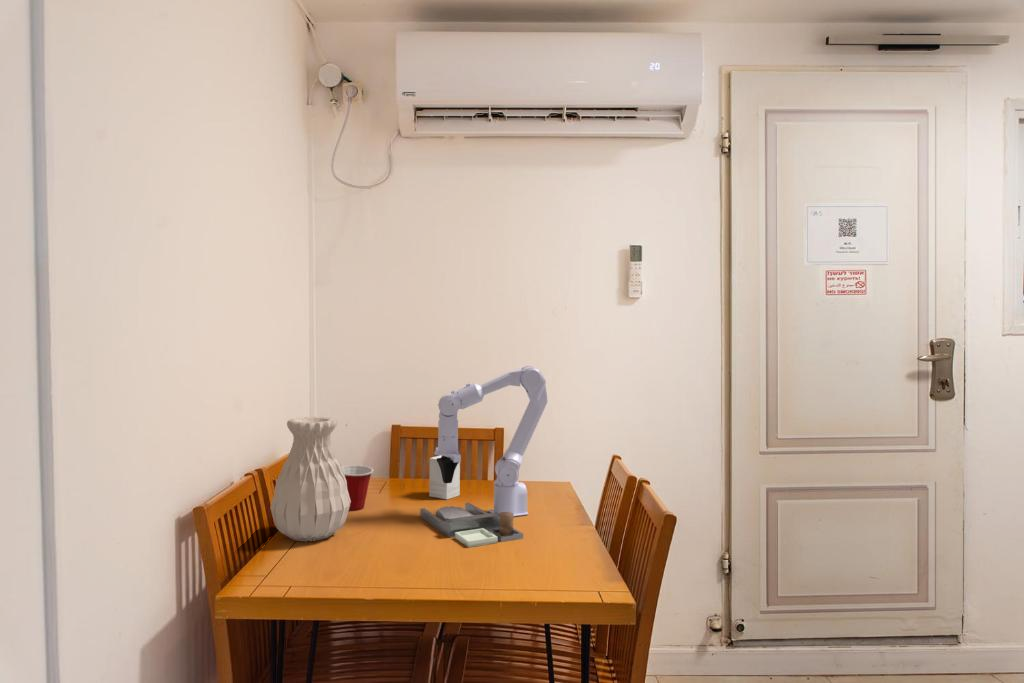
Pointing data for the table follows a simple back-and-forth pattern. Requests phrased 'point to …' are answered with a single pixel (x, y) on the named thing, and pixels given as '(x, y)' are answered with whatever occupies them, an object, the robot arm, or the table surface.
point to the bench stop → (463, 521)
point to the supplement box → (436, 482)
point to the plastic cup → (357, 484)
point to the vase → (310, 484)
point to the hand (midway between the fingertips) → (447, 482)
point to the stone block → (452, 513)
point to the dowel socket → (513, 536)
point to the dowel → (506, 523)
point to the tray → (476, 537)
